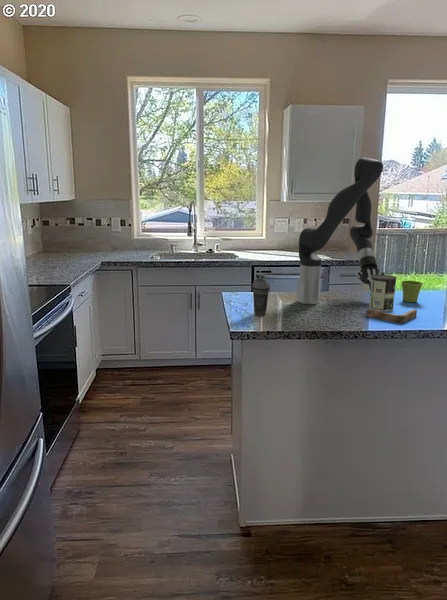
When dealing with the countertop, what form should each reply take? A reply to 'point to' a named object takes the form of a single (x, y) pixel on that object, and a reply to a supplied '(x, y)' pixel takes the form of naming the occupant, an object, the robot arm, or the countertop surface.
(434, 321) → the countertop surface
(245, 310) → the countertop surface
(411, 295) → the plant pot
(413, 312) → the bracket
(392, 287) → the coffee can
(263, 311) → the beverage cup
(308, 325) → the countertop surface
